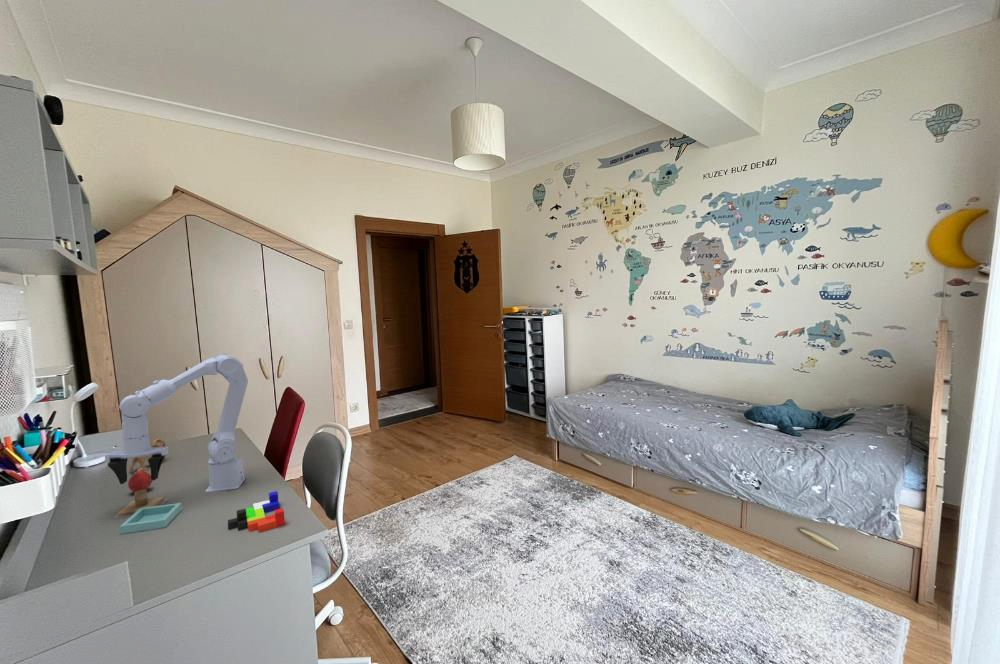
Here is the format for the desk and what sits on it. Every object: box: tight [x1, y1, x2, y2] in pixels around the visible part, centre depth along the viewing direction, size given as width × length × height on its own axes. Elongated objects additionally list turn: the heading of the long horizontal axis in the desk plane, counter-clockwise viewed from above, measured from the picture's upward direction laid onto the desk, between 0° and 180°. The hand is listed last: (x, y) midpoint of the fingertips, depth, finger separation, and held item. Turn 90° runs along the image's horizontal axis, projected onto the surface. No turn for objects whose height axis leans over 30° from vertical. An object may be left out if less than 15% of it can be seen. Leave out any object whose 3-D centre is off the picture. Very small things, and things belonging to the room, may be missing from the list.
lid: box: [116, 489, 165, 518], centre depth 122 cm, size 8×8×5 cm
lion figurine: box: [129, 437, 166, 474], centre depth 153 cm, size 15×5×9 cm, turn 1°
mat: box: [112, 498, 169, 519], centre depth 122 cm, size 10×9×1 cm
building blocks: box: [227, 490, 286, 533], centre depth 115 cm, size 15×13×4 cm
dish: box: [119, 502, 183, 535], centre depth 114 cm, size 10×10×2 cm
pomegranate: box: [127, 468, 153, 493], centre depth 132 cm, size 6×6×8 cm
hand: (139, 480), depth 121 cm, fingers open, 7 cm apart
